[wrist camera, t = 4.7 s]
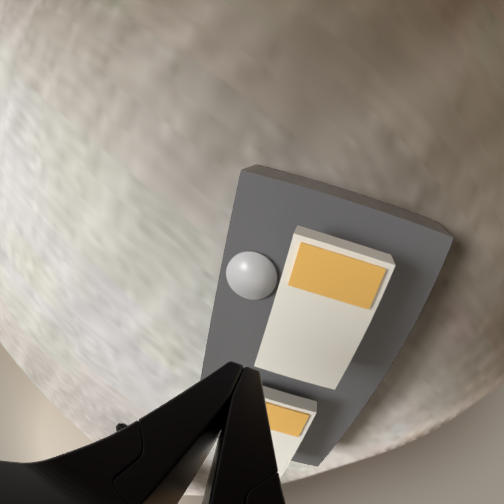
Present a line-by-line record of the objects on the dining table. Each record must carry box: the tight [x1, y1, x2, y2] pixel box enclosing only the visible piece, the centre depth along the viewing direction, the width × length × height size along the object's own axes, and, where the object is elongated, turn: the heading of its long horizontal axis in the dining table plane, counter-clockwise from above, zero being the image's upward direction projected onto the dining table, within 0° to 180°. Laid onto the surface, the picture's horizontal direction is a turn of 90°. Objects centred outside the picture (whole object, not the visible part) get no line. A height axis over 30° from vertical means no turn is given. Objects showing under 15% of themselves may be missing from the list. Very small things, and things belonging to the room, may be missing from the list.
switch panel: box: [200, 165, 454, 466], centre depth 17 cm, size 20×9×3 cm, turn 167°
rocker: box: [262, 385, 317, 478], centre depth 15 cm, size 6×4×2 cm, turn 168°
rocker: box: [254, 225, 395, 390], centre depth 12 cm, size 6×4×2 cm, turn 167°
